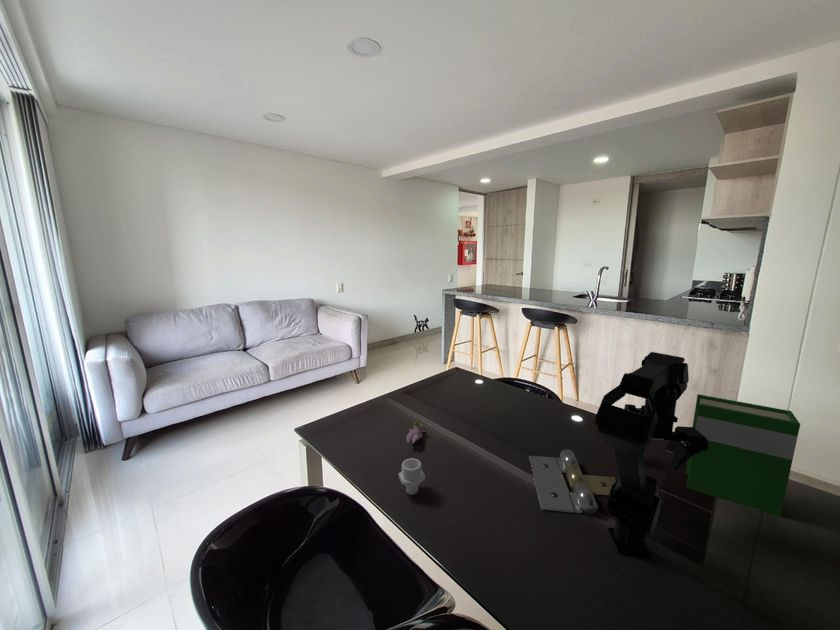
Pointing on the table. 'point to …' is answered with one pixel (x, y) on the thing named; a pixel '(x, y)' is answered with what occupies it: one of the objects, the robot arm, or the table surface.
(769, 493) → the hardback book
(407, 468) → the pipe fitting
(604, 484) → the brass hinge leaf
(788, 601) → the table surface
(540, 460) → the steel hinge leaf
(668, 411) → the robot arm
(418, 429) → the purple flower
